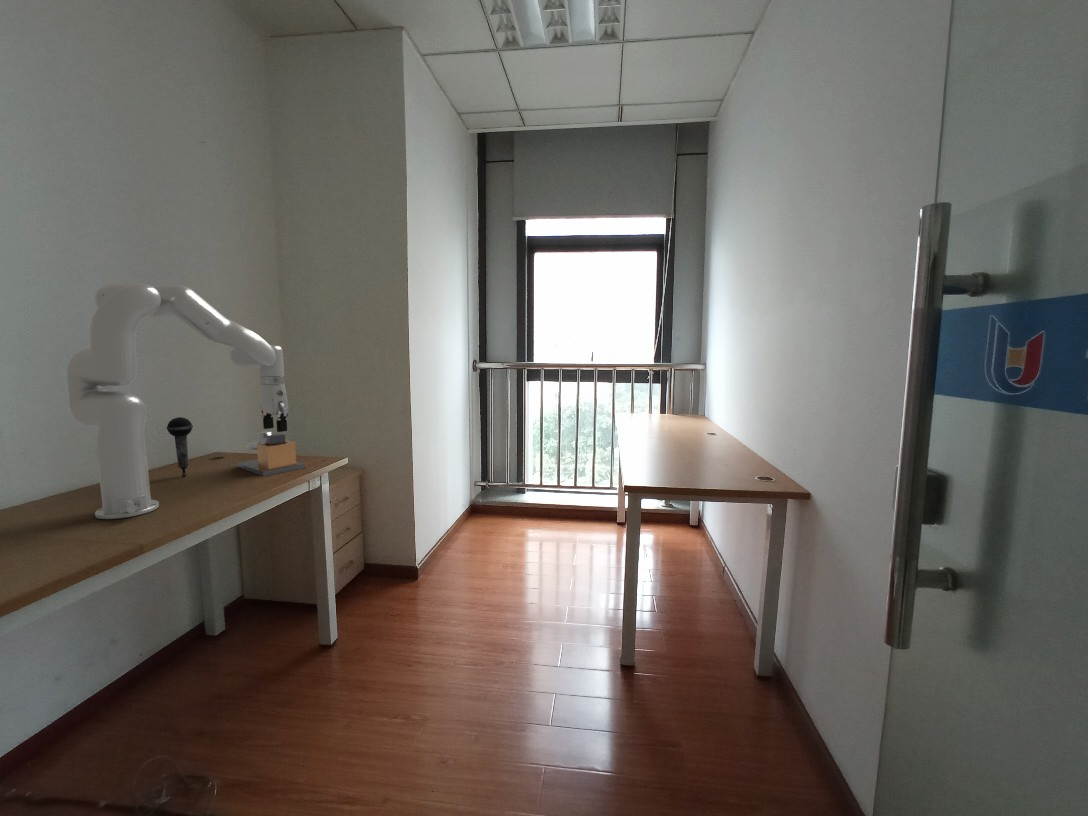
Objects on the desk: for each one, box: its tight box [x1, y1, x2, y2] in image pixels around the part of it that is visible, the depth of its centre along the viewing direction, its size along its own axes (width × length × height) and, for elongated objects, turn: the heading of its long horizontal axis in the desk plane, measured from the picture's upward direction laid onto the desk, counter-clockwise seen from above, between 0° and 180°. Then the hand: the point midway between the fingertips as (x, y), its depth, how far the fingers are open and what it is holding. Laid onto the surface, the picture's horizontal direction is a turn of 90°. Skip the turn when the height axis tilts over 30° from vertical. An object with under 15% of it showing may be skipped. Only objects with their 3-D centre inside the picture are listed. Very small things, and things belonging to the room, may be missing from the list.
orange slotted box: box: [236, 430, 306, 477], centre depth 168 cm, size 20×14×12 cm
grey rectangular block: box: [266, 433, 286, 446], centre depth 165 cm, size 3×5×11 cm, turn 140°
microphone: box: [166, 416, 194, 478], centre depth 155 cm, size 7×7×20 cm
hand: (275, 429), depth 164 cm, fingers open, 9 cm apart
